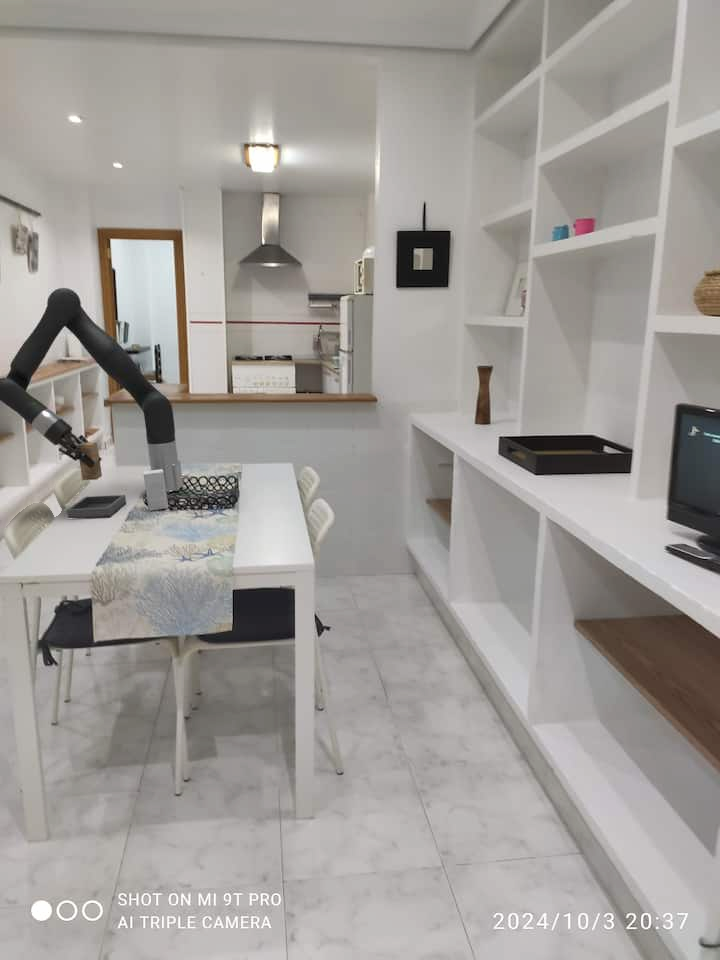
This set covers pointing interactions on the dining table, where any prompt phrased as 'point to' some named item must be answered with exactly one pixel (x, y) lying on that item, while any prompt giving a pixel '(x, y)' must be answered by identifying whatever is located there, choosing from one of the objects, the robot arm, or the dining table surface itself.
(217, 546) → the dining table surface
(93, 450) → the block
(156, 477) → the skincare box
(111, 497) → the tray
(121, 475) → the dining table surface
